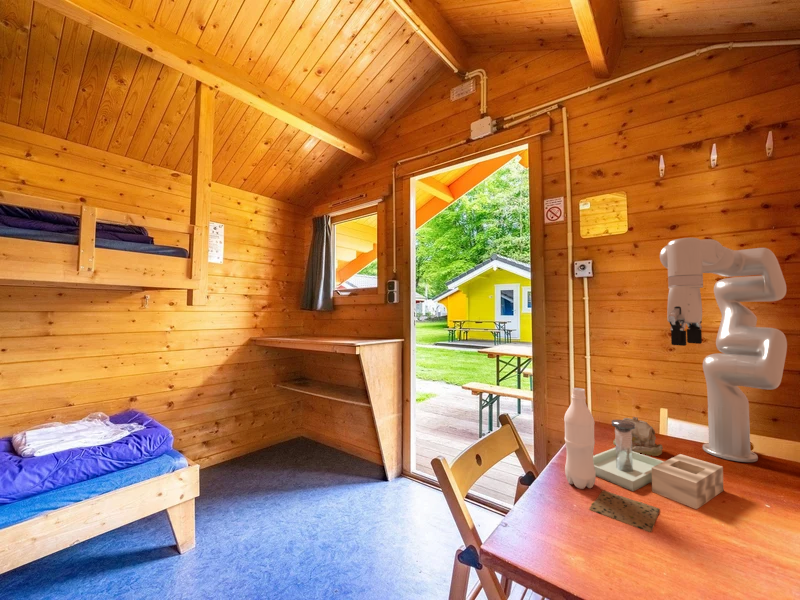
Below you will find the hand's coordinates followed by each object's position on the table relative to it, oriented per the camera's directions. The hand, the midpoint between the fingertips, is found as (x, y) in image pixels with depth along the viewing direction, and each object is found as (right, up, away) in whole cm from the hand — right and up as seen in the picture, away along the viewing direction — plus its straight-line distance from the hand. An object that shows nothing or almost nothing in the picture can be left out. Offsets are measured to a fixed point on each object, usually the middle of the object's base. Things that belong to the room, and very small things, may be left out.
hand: (686, 344), depth 96 cm
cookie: (-28, -37, -16) cm, 49 cm away
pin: (-16, -36, +2) cm, 39 cm away
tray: (-16, -37, +2) cm, 40 cm away
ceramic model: (-1, -37, +19) cm, 42 cm away
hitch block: (-7, -36, -9) cm, 38 cm away
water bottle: (-32, -37, -5) cm, 49 cm away
